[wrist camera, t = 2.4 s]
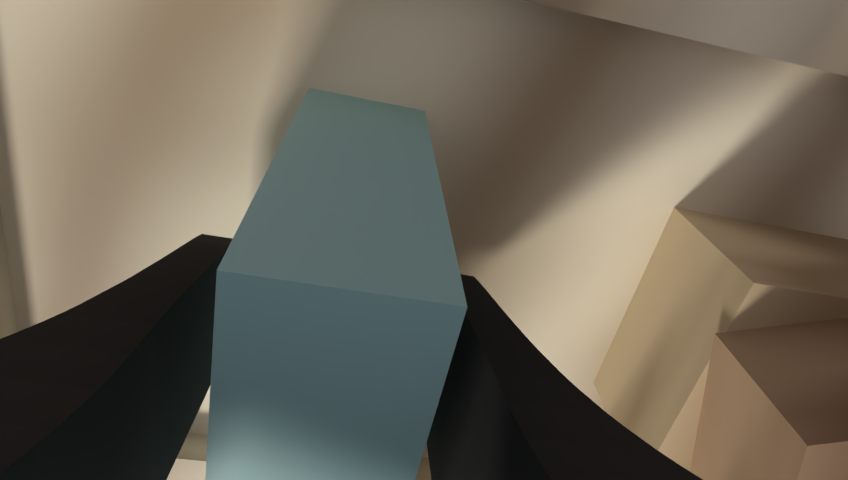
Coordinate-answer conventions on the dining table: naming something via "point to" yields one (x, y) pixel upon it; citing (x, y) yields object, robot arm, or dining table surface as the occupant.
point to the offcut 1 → (710, 315)
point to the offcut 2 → (776, 404)
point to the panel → (336, 303)
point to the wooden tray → (449, 130)
